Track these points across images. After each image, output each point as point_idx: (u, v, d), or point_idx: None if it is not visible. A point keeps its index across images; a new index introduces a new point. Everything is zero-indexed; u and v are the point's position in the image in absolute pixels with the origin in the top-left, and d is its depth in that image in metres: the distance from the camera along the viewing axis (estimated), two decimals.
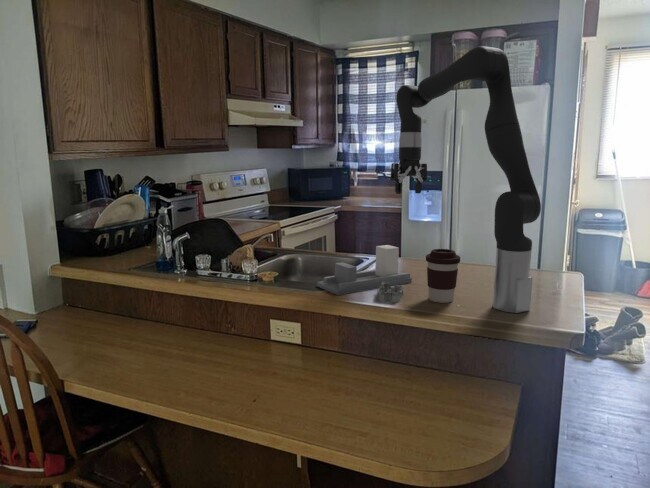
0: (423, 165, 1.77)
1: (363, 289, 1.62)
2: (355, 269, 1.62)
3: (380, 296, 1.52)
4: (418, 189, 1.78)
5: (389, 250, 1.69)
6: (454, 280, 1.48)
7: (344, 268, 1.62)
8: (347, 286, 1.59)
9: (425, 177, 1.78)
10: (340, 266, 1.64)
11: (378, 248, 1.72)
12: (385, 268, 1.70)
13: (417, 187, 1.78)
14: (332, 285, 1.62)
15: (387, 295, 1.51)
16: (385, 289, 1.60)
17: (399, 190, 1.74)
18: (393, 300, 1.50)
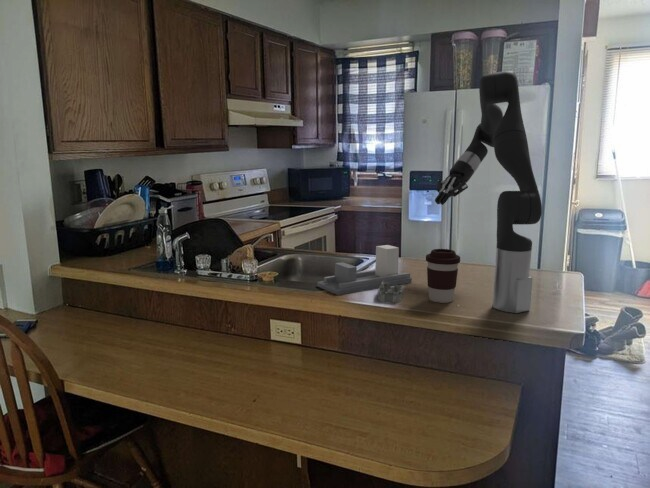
0: None
1: (363, 289, 1.62)
2: (355, 269, 1.62)
3: (380, 296, 1.52)
4: None
5: (389, 250, 1.69)
6: (454, 280, 1.48)
7: (344, 268, 1.62)
8: (347, 286, 1.59)
9: (452, 189, 1.77)
10: (340, 266, 1.64)
11: (378, 248, 1.72)
12: (385, 268, 1.70)
13: None
14: (332, 285, 1.62)
15: (388, 295, 1.51)
16: (385, 289, 1.60)
17: (436, 198, 1.80)
18: (394, 300, 1.50)
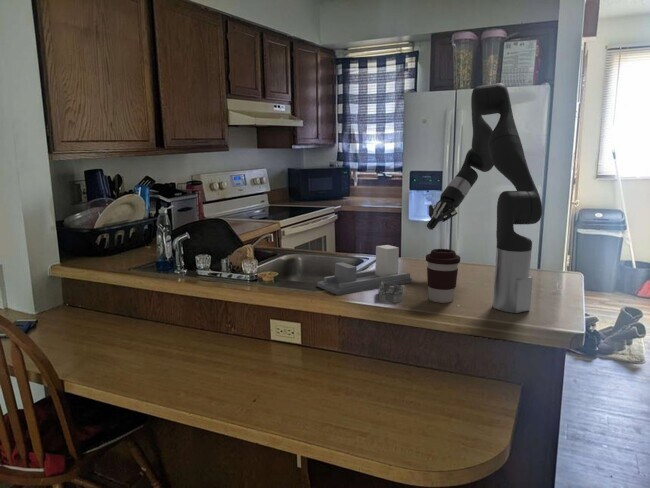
0: None
1: (363, 289, 1.62)
2: (355, 269, 1.62)
3: (381, 296, 1.51)
4: None
5: (389, 250, 1.69)
6: (454, 280, 1.48)
7: (344, 268, 1.62)
8: (347, 286, 1.59)
9: (441, 214, 1.80)
10: (340, 266, 1.64)
11: (378, 248, 1.72)
12: (385, 268, 1.70)
13: None
14: (332, 285, 1.62)
15: (388, 296, 1.51)
16: (384, 289, 1.60)
17: (428, 223, 1.81)
18: (395, 300, 1.50)
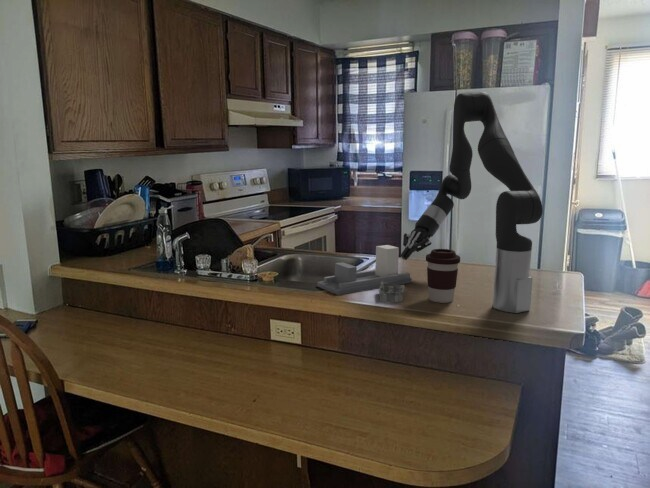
0: None
1: (363, 289, 1.62)
2: (355, 269, 1.62)
3: (382, 296, 1.51)
4: None
5: (389, 250, 1.69)
6: (454, 280, 1.48)
7: (344, 268, 1.62)
8: (347, 286, 1.59)
9: (415, 245, 1.75)
10: (340, 266, 1.64)
11: (378, 248, 1.72)
12: (385, 268, 1.70)
13: None
14: (332, 285, 1.62)
15: (389, 296, 1.51)
16: (384, 289, 1.60)
17: (402, 253, 1.77)
18: (396, 300, 1.50)
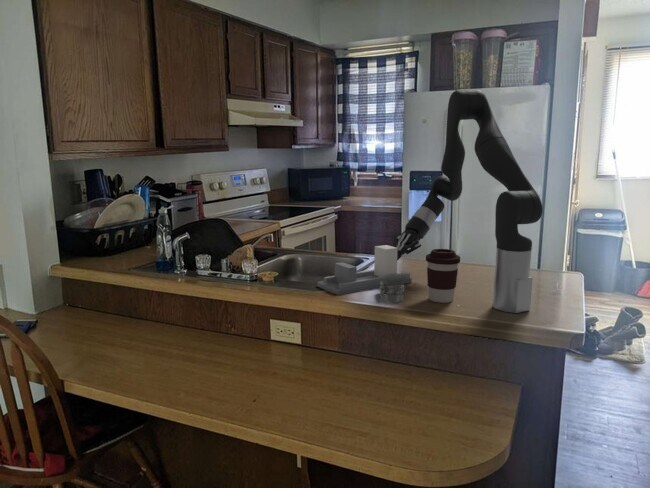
0: None
1: (363, 289, 1.62)
2: (355, 269, 1.62)
3: (383, 296, 1.51)
4: None
5: (388, 250, 1.69)
6: (454, 280, 1.48)
7: (344, 268, 1.62)
8: (347, 286, 1.59)
9: (404, 247, 1.73)
10: (340, 266, 1.64)
11: (377, 248, 1.72)
12: (384, 268, 1.70)
13: None
14: (332, 285, 1.62)
15: (390, 296, 1.51)
16: (383, 289, 1.60)
17: None
18: (397, 300, 1.50)
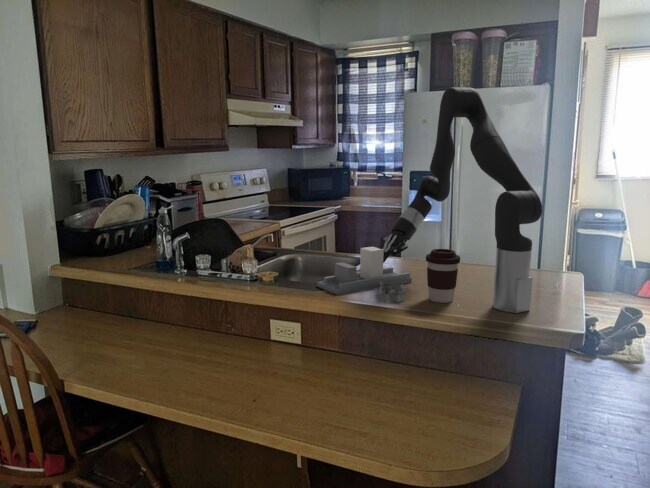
0: None
1: (363, 289, 1.62)
2: (355, 269, 1.62)
3: (384, 296, 1.51)
4: None
5: (373, 252, 1.66)
6: (454, 280, 1.48)
7: (344, 268, 1.62)
8: (347, 286, 1.59)
9: (391, 248, 1.70)
10: (340, 266, 1.64)
11: (362, 250, 1.69)
12: (369, 270, 1.67)
13: None
14: (332, 285, 1.62)
15: (391, 296, 1.51)
16: (383, 289, 1.60)
17: None
18: (398, 300, 1.50)
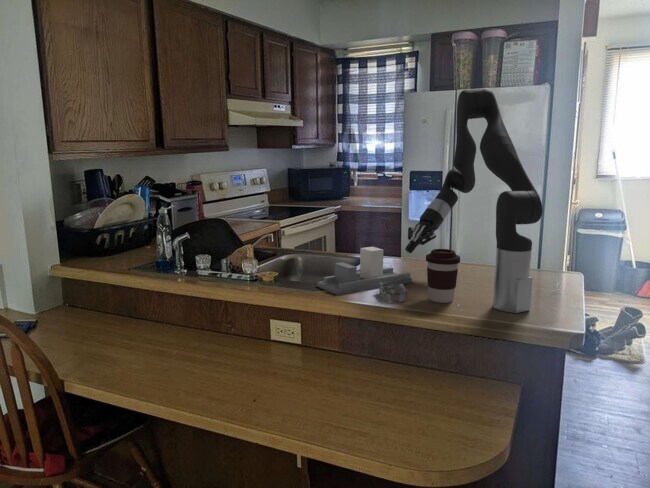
0: None
1: (363, 289, 1.62)
2: (355, 269, 1.62)
3: (386, 297, 1.51)
4: None
5: (373, 252, 1.66)
6: (454, 280, 1.48)
7: (344, 268, 1.62)
8: (347, 286, 1.59)
9: (419, 238, 1.76)
10: (340, 266, 1.64)
11: (362, 250, 1.69)
12: (369, 270, 1.67)
13: None
14: (332, 285, 1.62)
15: (393, 296, 1.51)
16: None
17: (407, 246, 1.78)
18: (400, 300, 1.50)
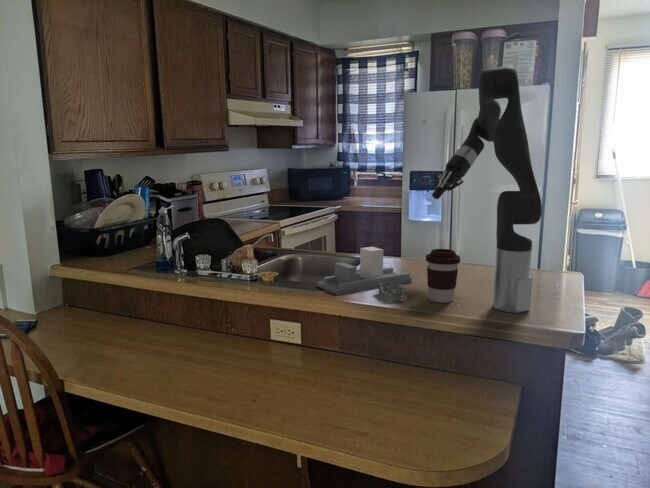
0: None
1: (363, 289, 1.62)
2: (355, 269, 1.62)
3: (388, 297, 1.51)
4: None
5: (373, 252, 1.66)
6: (454, 280, 1.48)
7: (344, 268, 1.62)
8: (347, 286, 1.59)
9: (447, 183, 1.76)
10: (340, 266, 1.64)
11: (362, 250, 1.69)
12: (369, 270, 1.67)
13: None
14: (332, 285, 1.62)
15: (395, 295, 1.51)
16: None
17: (433, 193, 1.78)
18: (402, 299, 1.51)
